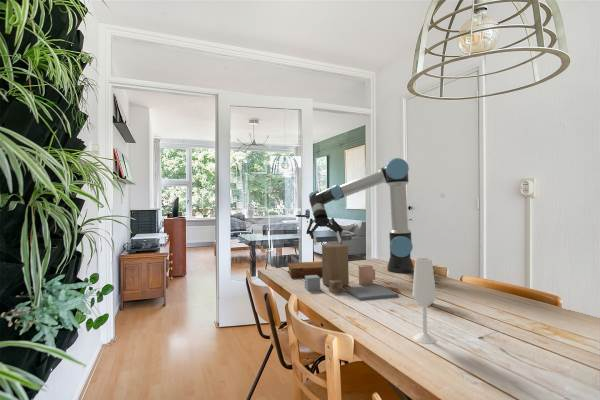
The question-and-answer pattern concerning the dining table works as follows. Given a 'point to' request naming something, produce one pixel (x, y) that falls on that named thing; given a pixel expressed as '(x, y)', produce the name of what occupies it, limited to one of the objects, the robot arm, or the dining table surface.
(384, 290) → the slate grey board
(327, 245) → the wooden block
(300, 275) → the diary
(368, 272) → the peach rounded cylinder
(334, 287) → the walnut cube
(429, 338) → the champagne flute
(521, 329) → the dining table surface
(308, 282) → the blue grey box
